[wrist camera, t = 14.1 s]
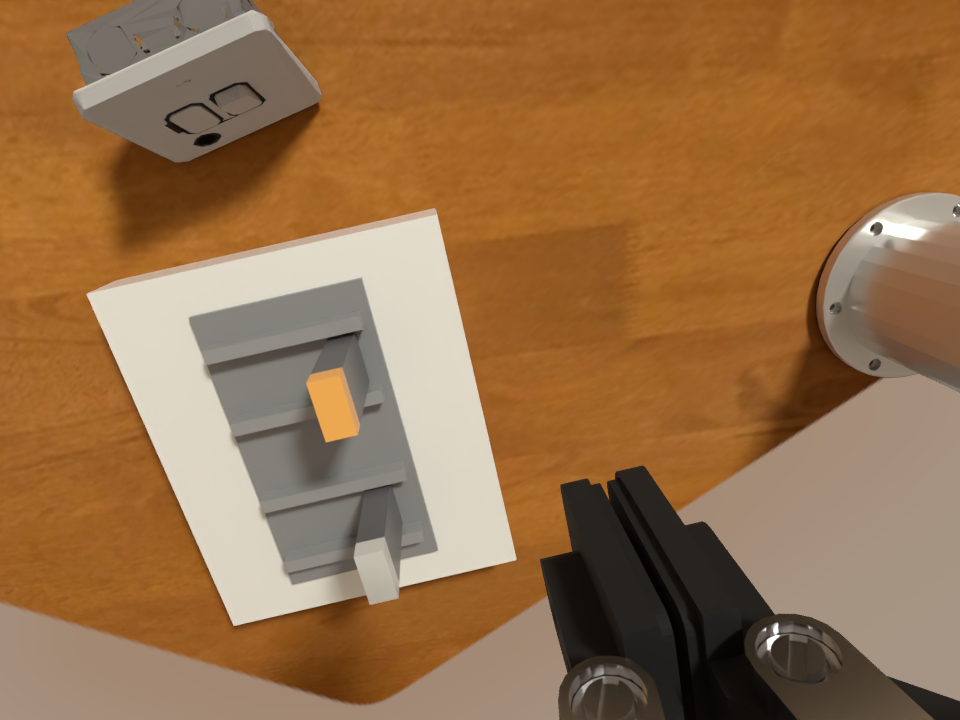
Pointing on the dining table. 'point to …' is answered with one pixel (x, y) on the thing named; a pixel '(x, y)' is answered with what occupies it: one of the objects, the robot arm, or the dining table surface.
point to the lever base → (314, 416)
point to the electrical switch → (187, 74)
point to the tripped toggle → (339, 387)
